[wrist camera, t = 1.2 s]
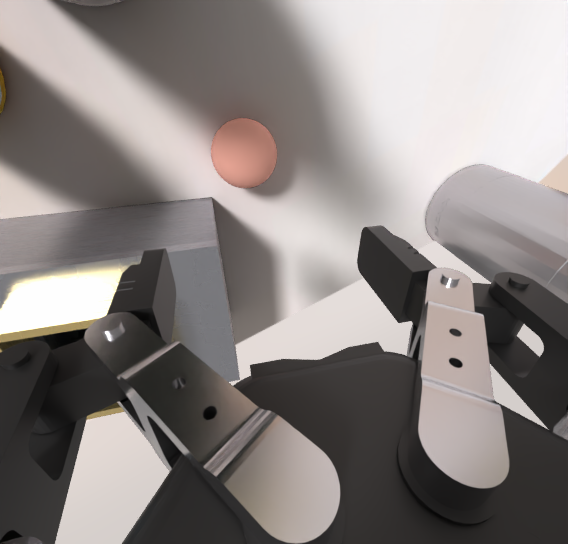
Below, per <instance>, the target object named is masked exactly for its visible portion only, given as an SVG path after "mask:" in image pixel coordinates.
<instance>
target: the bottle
mask: <svg viewBox="0 0 568 544" xmlns="http://www.w3.org/2000/svg"><path fill="white" fill-rule="evenodd" d="M5 99H6V89H5V82H4V77H3V74H2V72H1V69H0V114H1V113H2V111H3V108H4V104H5Z"/></svg>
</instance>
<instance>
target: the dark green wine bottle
mask: <svg viewBox="0 0 568 544" xmlns="http://www.w3.org/2000/svg"><path fill="white" fill-rule="evenodd" d="M63 1H66V2H71V3H75V4H80V5H84V6H106V5H110V4H113V3H117V2H121V1H123V0H63Z"/></svg>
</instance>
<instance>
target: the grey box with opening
mask: <svg viewBox="0 0 568 544" xmlns="http://www.w3.org/2000/svg"><path fill="white" fill-rule="evenodd" d="M162 248H165V249H166V250H167V253H168V257H169V261H170V265H171V269H172V273H173V277H174V281H175V286H176V304H175V314H174V323H173V333H172V342H173V341H178V342H180V343H181V344H183V345H184V346H185V347H186V348H187V349H189V350H190V351H191V352H192V353H194V354H195V355H196V356H197V357H198V358H200V359H201V360H202V361H203V362H204V363H206V364H207V365H208V366H209V367H210V368H212V369H213V370H214V371H215V372H217V373H218V374H219V375H220V376H221V377H223V378H224V379H225V380H226V381H227V382H231V381H235V380H239V379H240V378H239V370H238V363H237V356H236V348H235V341H234V333H233V326H232V319H231V312H230V306H229V299H228V293H227V287H226V281H225V275H224V269H223V263H222V257H221V251H220V244H219V238H218V232H217V226H216V220H215V214H214V208H213V202H212V197H210V198H200V199H191V200H181V201H172V202H162V203H153V204H143V205H133V206H124V207H114V208H105V209H95V210H85V211H76V212H66V213H57V214H47V215H38V216H28V217H18V218H9V219H0V353H1V352H2V351H4V350H6V349H8V348H10V347H12V346H14V345H17V344H20V343H23V342H27V341H42V342H45V343H47V344H48V346H49V347H50V349H51V350H54V349H57V348H60V347H63V346H66V345H68V344H71V343H74V342H77V341H79V340H81V339H83V338H84V335H85V332H86V330H87V329H88V327H89V326H90V325H91V324H92V323H94V322H95V321H96V320H98V319H100V318H102V317H104V316H106V315H107V312H108V310H109V307H110V304H111V302H112V299H113V296H114V294H115V292H116V288H117V286H118V284H119V281H120V278H121V275H122V273H123V272H124V271H125V270H126V269H127V268H128V267H129V266H131V265H135V264H140V262H141V259H142V256H143V252H144V251H145V250H153V249H162ZM172 342H171V343H172ZM120 412H125V411H124V410H123V409H122V408H121V406H120V405H119V404H118V402H117V403H115V404H112V405H110V406H108V407H106V408H104V409H102V410H99V411H97V412H95V413H93V414H91V415H88V416H87V419H92V418H97V417H101V416H106V415H111V414H115V413H120ZM87 419H86V420H87Z"/></svg>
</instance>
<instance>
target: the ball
mask: <svg viewBox="0 0 568 544" xmlns="http://www.w3.org/2000/svg"><path fill="white" fill-rule="evenodd" d="M211 157H212V162H213V165H214V167H215V169H216V171H217V173H218V174H219V175H220V176H221V178H222V179H224V180H225V181H226V182H227V183H229V184H231V185H233V186H235V187H239V188H252V187H256V186H258V185H260V184H262V183H263V182H265V181H266V180H267V179H268V178H269V177H270V175H271V174H272V172H273V170H274V168H275V165H276V161H277V148H276V144H275V141H274V139H273V137H272V135H271V134H270V132H269V131H268V130H267V129H266V128H265V127H264V126H263V125H262V124H260V123H259V122H257V121H255V120H252V119H248V118H237V119H233V120H231V121H228V122H227V123H225V124H224V125H223V126H221V127H220V129H219V130H218V131H217V133H216V134H215V136H214V138H213V142H212V146H211Z"/></svg>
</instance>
